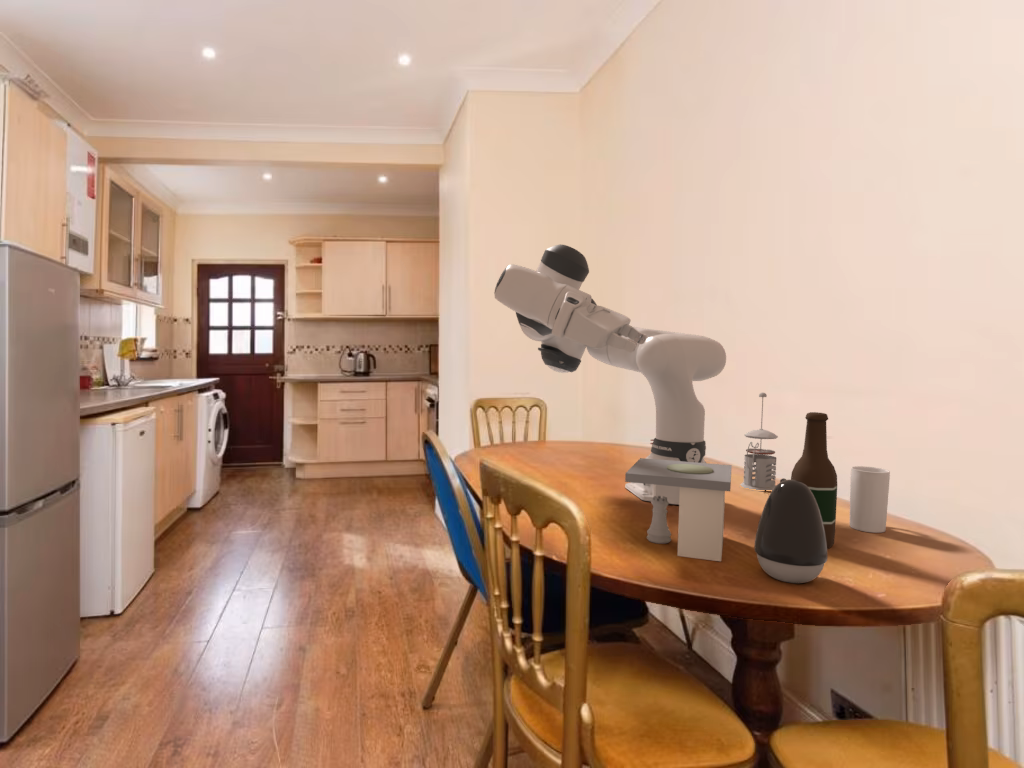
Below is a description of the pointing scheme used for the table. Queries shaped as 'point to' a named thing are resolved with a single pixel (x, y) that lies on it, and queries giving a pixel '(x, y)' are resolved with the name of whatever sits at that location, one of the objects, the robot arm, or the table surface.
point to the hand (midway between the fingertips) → (640, 344)
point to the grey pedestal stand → (691, 501)
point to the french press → (759, 461)
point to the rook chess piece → (659, 522)
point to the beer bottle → (819, 472)
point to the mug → (869, 498)
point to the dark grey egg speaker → (791, 534)
